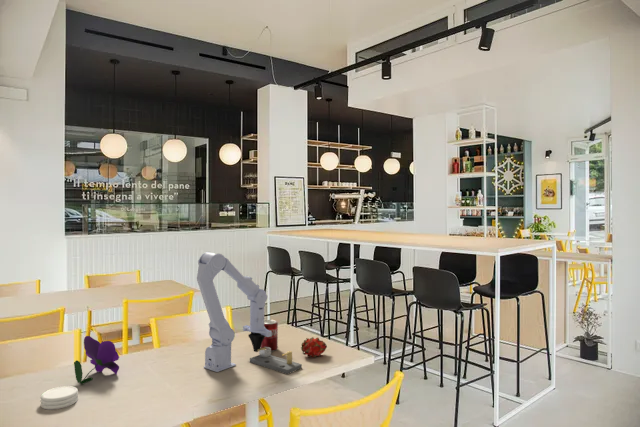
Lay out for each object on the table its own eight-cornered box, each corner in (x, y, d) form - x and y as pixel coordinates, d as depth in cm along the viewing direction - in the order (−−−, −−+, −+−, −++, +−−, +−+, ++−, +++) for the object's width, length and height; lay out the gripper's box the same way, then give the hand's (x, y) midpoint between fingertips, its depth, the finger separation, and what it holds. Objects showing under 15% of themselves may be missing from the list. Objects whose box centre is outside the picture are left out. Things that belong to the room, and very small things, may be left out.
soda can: (258, 348, 191) (258, 320, 191) (274, 346, 194) (274, 319, 194) (263, 353, 185) (263, 324, 185) (279, 351, 188) (280, 323, 188)
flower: (104, 400, 150) (129, 369, 161) (89, 368, 143) (115, 338, 155) (70, 394, 154) (96, 365, 165) (53, 363, 147) (81, 335, 158)
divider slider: (260, 359, 172) (260, 350, 172) (255, 357, 174) (255, 348, 174) (270, 355, 177) (271, 346, 177) (265, 353, 179) (265, 345, 179)
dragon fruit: (298, 361, 180) (324, 361, 185) (306, 354, 174) (333, 354, 179) (295, 341, 185) (321, 342, 190) (304, 333, 179) (330, 334, 184)
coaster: (84, 396, 141) (84, 385, 141) (67, 410, 131) (67, 398, 131) (52, 396, 141) (52, 385, 141) (33, 410, 131) (33, 398, 131)
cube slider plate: (287, 374, 162) (287, 357, 162) (249, 362, 174) (249, 346, 174) (301, 368, 168) (301, 352, 168) (264, 356, 180) (264, 342, 180)
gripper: (277, 318, 178) (276, 352, 178) (251, 313, 187) (251, 345, 187) (264, 322, 172) (264, 356, 172) (239, 316, 181) (239, 349, 181)
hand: (256, 351), depth 179 cm, fingers closed
